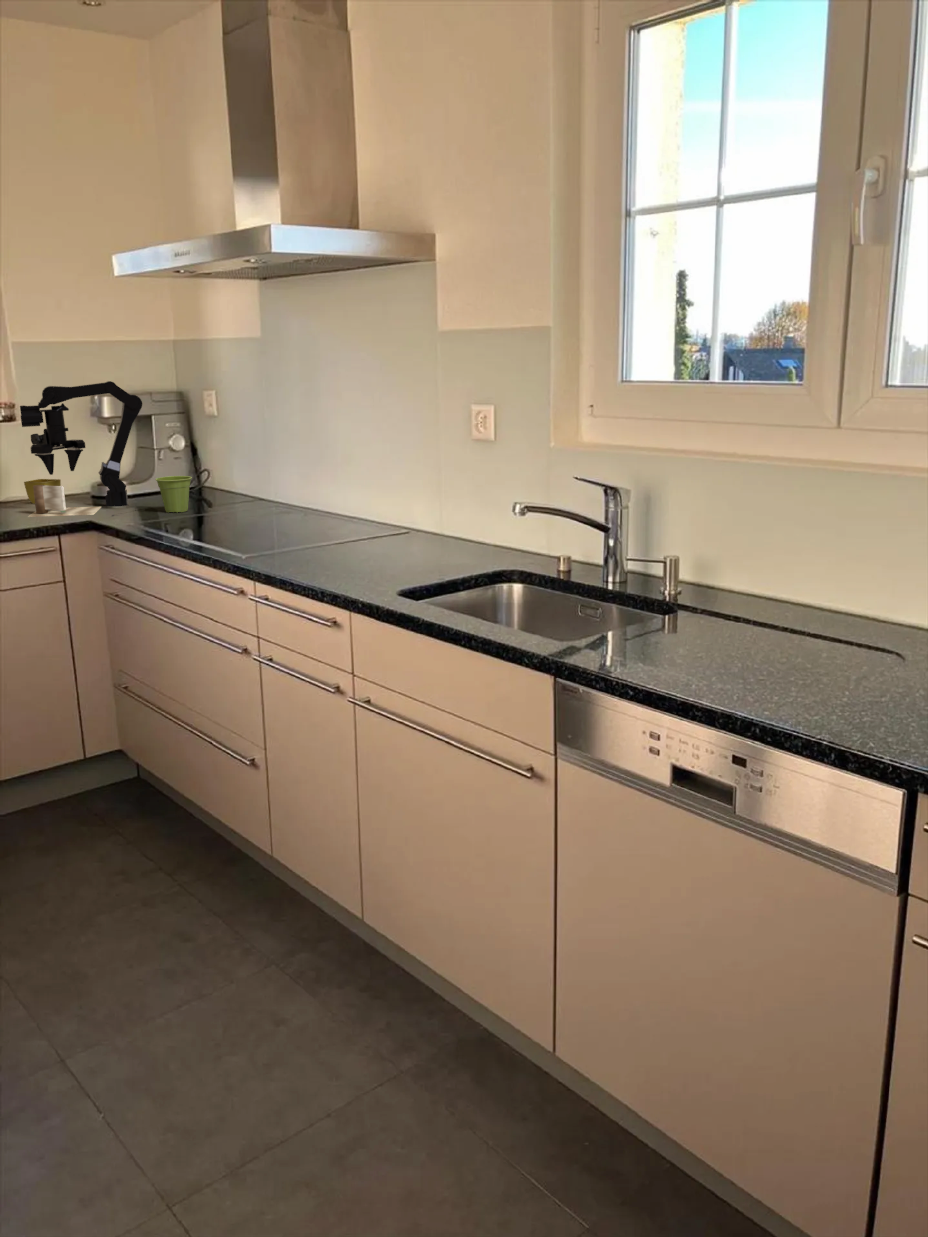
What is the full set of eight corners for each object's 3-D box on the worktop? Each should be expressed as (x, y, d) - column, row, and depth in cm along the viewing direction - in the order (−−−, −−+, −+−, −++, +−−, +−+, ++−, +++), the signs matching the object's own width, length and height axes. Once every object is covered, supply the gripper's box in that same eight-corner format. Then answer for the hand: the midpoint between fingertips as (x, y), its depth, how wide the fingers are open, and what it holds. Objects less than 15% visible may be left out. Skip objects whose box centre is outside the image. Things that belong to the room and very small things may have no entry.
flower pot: (25, 507, 351) (22, 481, 349) (43, 503, 359) (40, 478, 357) (47, 508, 348) (44, 482, 346) (64, 504, 356) (61, 479, 354)
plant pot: (170, 508, 347) (167, 475, 344) (201, 509, 344) (198, 476, 341) (150, 513, 336) (148, 479, 333) (182, 514, 333) (180, 480, 330)
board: (102, 509, 344) (101, 506, 344) (93, 518, 327) (93, 514, 327) (39, 511, 341) (39, 508, 340) (28, 520, 323) (27, 516, 323)
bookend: (33, 513, 328) (30, 486, 326) (50, 509, 336) (47, 482, 334) (61, 514, 326) (58, 487, 323) (78, 510, 334) (75, 483, 332)
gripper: (58, 422, 345) (64, 468, 349) (14, 427, 328) (21, 475, 332) (83, 422, 340) (89, 469, 344) (40, 427, 324) (47, 476, 328)
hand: (61, 472), depth 337 cm, fingers open, 9 cm apart
